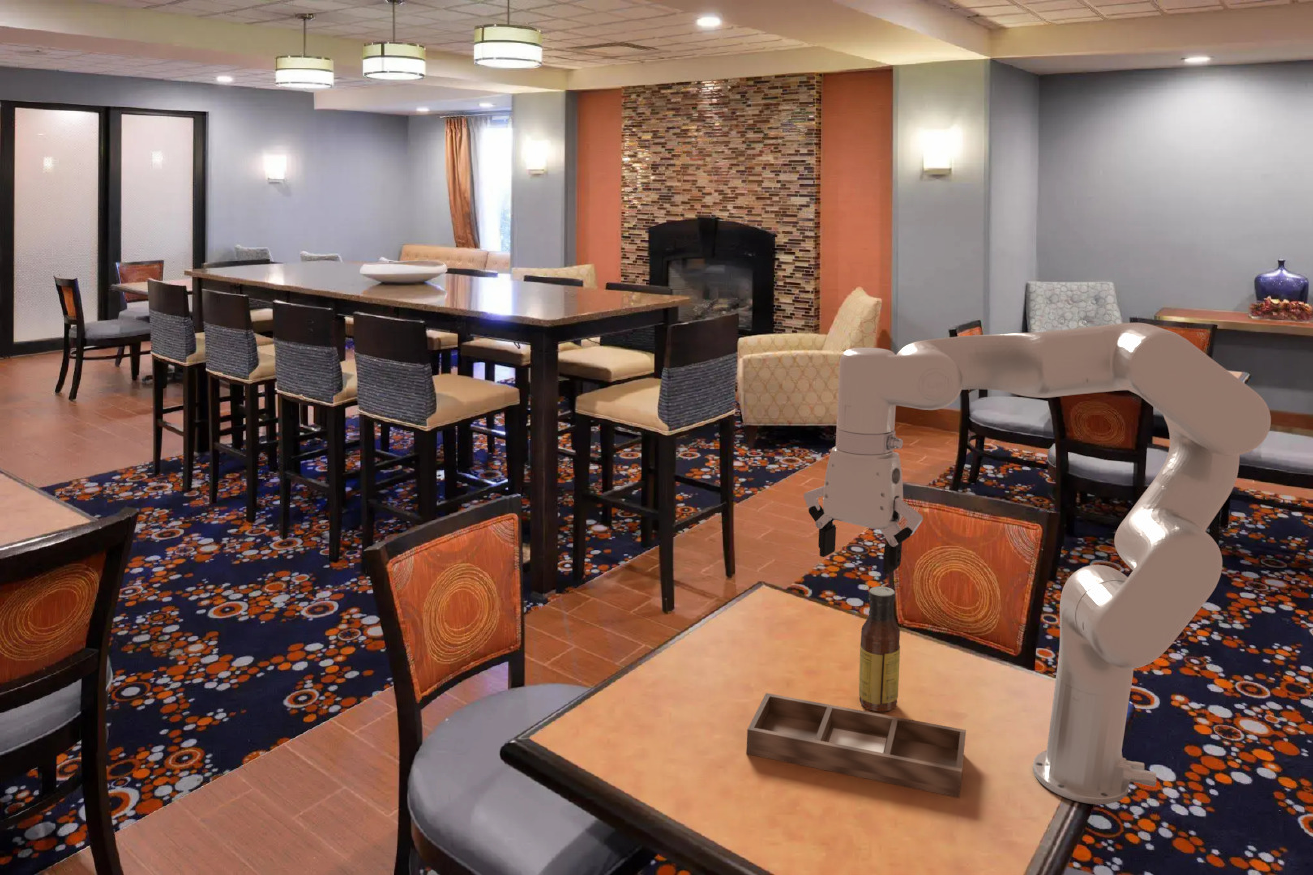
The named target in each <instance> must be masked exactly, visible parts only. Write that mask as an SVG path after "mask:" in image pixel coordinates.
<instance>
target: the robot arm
mask: <svg viewBox="0 0 1313 875" xmlns="http://www.w3.org/2000/svg"><path fill="white" fill-rule="evenodd" d="M838 367H839V368H838V387H837V388H838V389H837V390H838V391H837V407H836V408H837V412H836V433H835V436H836V437H835V446H834V447H832V448H831V450H830V453H829V458H828V462H827V466H826V471H825V477H824V484H823V486H821V487H817V488H815V489H812V490H809V491H807V492H804V493H803V499H804V500H805V501H804V502H805V504H806V507H807V508H808V513H809V515H810V516H811V518H812V519H813V520H814V522H815V524H814V525H815V527H816V529H818V549H819V557H821V558H825V557H827V556H829V555H831V554H833V553H834V552H835V551H836V538H837V537H836V535H837V527H836V524H834V522H835V521H839V522H844V523H847V524H852V525H854V526H855V525H856V526H859V527H860V526H861V527H864V528H868V529H869V528H870V529H873V530H880V531H881V533H882V535H883V537H884V538H885V540H886V541H887V542H888V543H886V544H885V545H884V546H883V547H884V548H883V549H884V550H883V565H882V566H883V567H882V572H883V573H884V574H886V575H889V574H891V573H893V571H895V570H897V569H898V568H899V567H900V565H901V562H902V549H903V548H902V547H903V543H904V542H905V541H906V540H907V539H908V538H911V536H913V535H914V534H915V533H916V531H917V529H918V528H919V527H920V524H922V522H923V520H924V517H923V515H922V514H921V513H919V511H917V510H915V509H914V508H913V507H912V506H910V505H909V504H907V503H906V502H905V501H904V488H903V487H904V483H903V471H902V463H901V457H900V454H899V452H895V450H896V449H897V450H901V449H902V448H903V446H904V441H903V439H902V438H898V436H896V430H895V424H896V408H897V407H905V408H912V409H917V410H925V411H927V410H928V411H934V410H940V409H944V408H946V407H949V406H950V405H951V404H953V403H954V402H955V401H956V400H957V399H958V398H959V396H960V394H961V392H962V390H963V391H965V390H992V391H993V390H994V391H1000V392H1006V393H1009V394H1014V395H1018V396H1022V397H1028V398H1042V399H1046V398H1047V399H1048V398H1056V397H1063V396H1064V397H1065V396H1075V395H1084V394H1094V393H1106V392H1107V393H1108V392H1115V391H1117V392H1118V391H1129V392H1131V393H1132V394H1133V393H1134V394H1136V395H1137V396H1139V397H1141V399H1143V400H1144V401H1145V402H1146V403H1148V404H1149V405H1150V406H1152V407H1153V408H1154V409H1155V410H1157V411H1158V412H1159V413H1161V415H1163V418H1164V421H1165V423H1166V425H1167V429H1168V433H1169V448H1168V451H1167V452H1168V453H1167V456H1166V459H1165V462H1164V464H1163V465H1162V466H1161V468H1160V470H1159V472H1158V473H1157V475H1156V476H1155V477H1154V479H1153V480H1152V482H1150V484H1149V486H1148V487H1147V489H1145V491H1144V492H1143V493H1142V495H1141V496H1140V497H1139V499H1138V500H1137V501H1136V503H1135V504H1134V506H1133V507H1132V508H1131V510H1130V511H1129V512H1128V513H1127V515H1126V516H1125V518H1124V519H1123V520H1122V521H1121V522H1120V524H1119V526H1118V528H1117V530H1116V532H1115V534H1114V548H1115V550H1116V553H1117V554H1118V555H1119V558H1121V560H1122V561H1124V564H1125V565H1127V566H1128V567H1129V568H1130V569H1131V570H1132V571H1131V573H1130V574H1129V575H1128V576H1127V575H1126V574H1124V573H1123V572H1121V571H1119V570H1117V569H1116V568H1113V567H1111V566H1108V565H1103V564H1102V565H1101V564H1091V565H1086V566H1083V567H1081V568H1079V569H1077V570H1076V571H1074V572H1073V573H1072V574H1071V575H1070V576H1069V577H1068V578H1067V580H1066V581H1065V584H1064V586H1063V587H1062V589H1061V590H1062V591H1061V595H1060V599H1059V600H1060V601H1059V648H1058V649H1059V650H1058V659H1057V668H1056V674H1055V675H1056V676H1055V681H1054V682H1055V683H1054V690H1053V698H1052V704H1051V705H1052V706H1051V713H1050V722H1049V729H1048V730H1049V731H1048V738H1047V739H1048V740H1047V747H1046V750H1044V751H1041V752H1039V753H1038V754H1036V756H1035V757H1034V759H1033V764H1032V771H1033V775H1034V776H1035V778H1036V779H1037V780H1038V781H1039V783H1040V784H1042V785H1043V786H1044V787H1045V788H1046V789H1048V791H1049V790H1050V791H1051V792H1053V793H1054V794H1056V795H1058V796H1061V797H1063V798H1066V799H1067V800H1071V801H1074V802H1078V803H1082V804H1089V805H1109V804H1114V803H1117V802H1119V801H1120V802H1121V801H1123V799H1125V798H1126V797H1127V795H1128V793H1129V788H1130V784H1131V783H1137V784H1140V785H1143V786H1150V787H1154V788H1155V787H1156V786H1157V772H1155V771H1150V770H1146V769H1145V763H1144V762H1140V761H1136V760H1135V761H1131V760H1127V758H1126V757H1123V752H1122V749H1123V743H1124V736H1125V731H1126V730H1125V729H1126V724H1127V722H1126V721H1127V716H1128V715H1127V714H1128V709H1129V701H1130V696H1131V695H1130V694H1131V689H1132V686H1133V685H1132V683H1133V679H1134V678H1133V677H1134V670H1135V669H1138V668H1143V667H1144V666H1147V665H1150V664H1152V663H1153V662H1154V661H1156V660H1157V659H1159V658H1160V657H1161V656H1162V655H1163V654H1164V653H1165V652H1166V651H1167V650H1168V649H1169V648H1170V647H1171V646H1172V644H1173V643H1174V642H1175V640H1176V639H1177V638H1178V637H1179V635H1180V634H1181V633H1182V632H1183V631H1184V629H1185V628H1186V627H1187V626H1188V624H1189V623H1190V622H1191V621H1192V619H1193V618H1194V617H1195V615H1196V614H1197V613H1198V611H1200V609H1201V608H1202V607H1203V605H1205V603H1206V602H1207V601H1208V599H1209V598H1210V597H1211V596H1212V594H1213V592H1214V591H1215V589H1216V588H1217V585H1218V583H1219V581H1220V578H1221V576H1222V570H1223V557H1222V553H1221V549H1220V547H1219V545H1218V544H1217V542H1216V541H1215V539H1214V538H1213V537H1212V536H1211V534H1209V533H1207V532H1206V531H1207V529H1208V528H1209V526H1210V525H1211V523H1212V522H1213V520H1214V519H1215V517H1216V516H1217V514H1218V513H1219V512H1220V510H1221V508H1222V507H1223V506H1224V504H1225V503H1226V501H1227V500H1228V499H1229V496H1230V495H1231V493H1232V491H1233V489H1234V487H1235V484H1236V481H1237V478H1238V475H1239V474H1238V473H1239V467H1240V455H1241V456H1242V455H1243V454H1244V455H1245V454H1247V453H1249V452H1252V451H1254V450H1256V449H1257V448H1258V447H1259V446H1260V445H1261V444H1263V442H1264V441H1265V439H1266V438H1267V436H1268V434H1269V433H1270V429H1271V425H1272V423H1271V422H1272V416H1271V412H1270V408H1269V406H1268V404H1267V402H1266V401H1265V400H1264V399H1263V397H1262V396H1261V395H1260V394H1259V393H1258V392H1256V391H1255V390H1253V389H1252V387H1250V386H1249V385H1247V384H1246V383H1245V382H1244V381H1242V380H1241V379H1239V378H1238V377H1237V376H1235V375H1234V374H1233V373H1231V372H1230V371H1229V370H1227V369H1226V368H1225V367H1223V366H1222V365H1220V364H1219V363H1218V362H1216V361H1215V360H1214V359H1212V358H1211V357H1210V356H1209V355H1207V353H1205V352H1204V351H1203V350H1201V349H1200V348H1199V347H1198V346H1196V345H1194V343H1192V342H1191V341H1190V340H1188V339H1187V338H1185V337H1183V336H1182V335H1181V334H1179V333H1177V332H1174V331H1171V330H1168V329H1165V328H1162V327H1159V326H1156V325H1154V324H1151V323H1150V324H1149V323H1144V322H1124V323H1113V324H1103V325H1096V326H1086V327H1079V328H1069V329H1058V330H1047V331H1038V332H1037V331H1036V332H1035V331H1034V332H1014V333H1000V334H976V335H975V334H974V335H961V336H960V335H959V336H951V337H949V336H948V337H942V338H933V339H932V338H931V339H926V340H918V341H914V342H911V343H909V344H907V345H905V346H904V347H902V348H901V349H900V350H899V351H898V352H897V353H894V351H892V350H889V349H887V348H886V349H885V348H880V347H868V346H867V347H853V348H849V349H846V350H845V351H843V352H842V354H841V356H840V357H839V366H838ZM821 497H822V506H821V505H820V504H819V498H821ZM902 518H904V519H905V520H906V524H905V526H904V528H902V527H901V525H900V524H899V522H900V521H902Z"/></svg>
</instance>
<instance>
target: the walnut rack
mask: <svg viewBox="0 0 1313 875" xmlns="http://www.w3.org/2000/svg"><path fill="white" fill-rule="evenodd" d="M746 731H747V732H746V755H751V756H756V757H761V758H766V759H769V760H770V759H771V760H776V761H780V762H784V763H788V764H789V763H790V764H795V765H800V766H805V767H808V768H814V769H819V770H824V771H829V772H833V773H837V774H843V775H849V776H853V777H858V778H862V779H867V780H873V781H877V782H881V783H886V784H891V785H896V786H900V787H907V788H910V789H915V790H921V791H926V792H930V793H936V794H941V795H944V796H949V797H954V798H960V795H961V794H960V793H961V785H962V775H963V765H964V764H963V763H964V755H965V745H966V744H965V743H966V736H967V730H966V729H964V728H963V729H962V728H957V727H953V726H946V725H941V724H937V723H932V722H931V723H930V722H927V721H926V722H924V721H919V720H915V719H909V718H904V717H898V716H893V715H887V714H883V713H882V714H881V713H877V712H871V711H866V710H860V709H854V708H849V707H845V706H844V707H843V706H840V705H838V706H837V705H834V704H833V705H832V704H828V703H827V704H826V703H823V702H817V701H811V700H806V699H802V698H801V699H800V698H796V697H795V698H794V697H789V696H785V695H784V696H783V695H778V694H773V693H768V692H765V694H764V696H763V698H762V700H761V702H760V703H759V706H758V708H757V710H756V711H755V713H754V715H753V718H752V720H751V721H750V724H749V725H748V727H747V730H746Z"/></svg>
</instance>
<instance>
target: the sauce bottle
mask: <svg viewBox="0 0 1313 875" xmlns="http://www.w3.org/2000/svg"><path fill="white" fill-rule="evenodd" d="M868 599H869V608H868V609H869V610H868V616H867V618H866V620H865V622H863V625H862V626H861V631H860V632H861V634H860V645H859V669H858V670H859V675H858V676H859V677H858V679H859V680H858V681H859V682H858V695H859V698H858V699H859V702H860V705H861V706H862V707H863V708H865V709H867V711H873V712H876V713H877V712H878V713H887V712H890V711H891V712H892V711H893V710H895V708H896V707H897V705H898V698H899V686H900V684H899V682H900V680H899V679H900V661H901V660H900V659H901V658H900V657H901V656H900V654H901V645H900V641H901V640H900V639H901V629H900V627H899V625H898V623H897V621H896V619H895V617H894V615H895V614H894V605H895V604H894V602H895V601H896V591H895V589H893V588H892V587H887V586H874V587H871V588H870V589H869V591H868Z"/></svg>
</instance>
